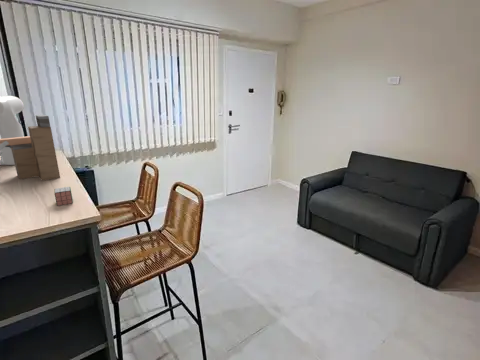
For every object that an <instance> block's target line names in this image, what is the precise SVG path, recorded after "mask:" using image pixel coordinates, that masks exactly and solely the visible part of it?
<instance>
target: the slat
mask: <svg viewBox="0 0 480 360" xmlns="http://www.w3.org/2000/svg"><path fill="white" fill-rule="evenodd" d="M4 141H7V142H8V143H9V144H8V145H6V146H9V145H18V144H28V143H31V139H30V135H27V136H24V137H15V138H4V139H1V138H0V144H1V143H2V142H4Z"/></svg>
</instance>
